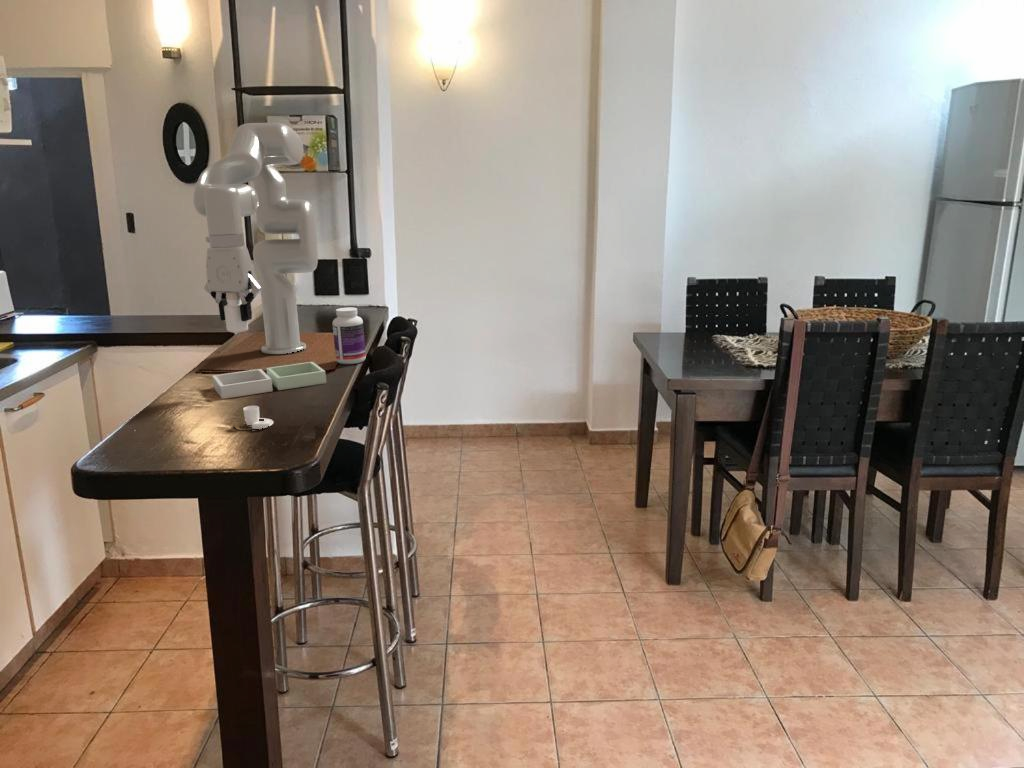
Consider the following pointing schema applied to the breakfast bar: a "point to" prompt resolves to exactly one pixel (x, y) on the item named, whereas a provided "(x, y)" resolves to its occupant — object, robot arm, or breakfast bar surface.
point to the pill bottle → (348, 336)
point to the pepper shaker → (234, 314)
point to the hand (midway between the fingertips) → (236, 318)
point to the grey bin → (242, 383)
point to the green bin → (296, 375)
